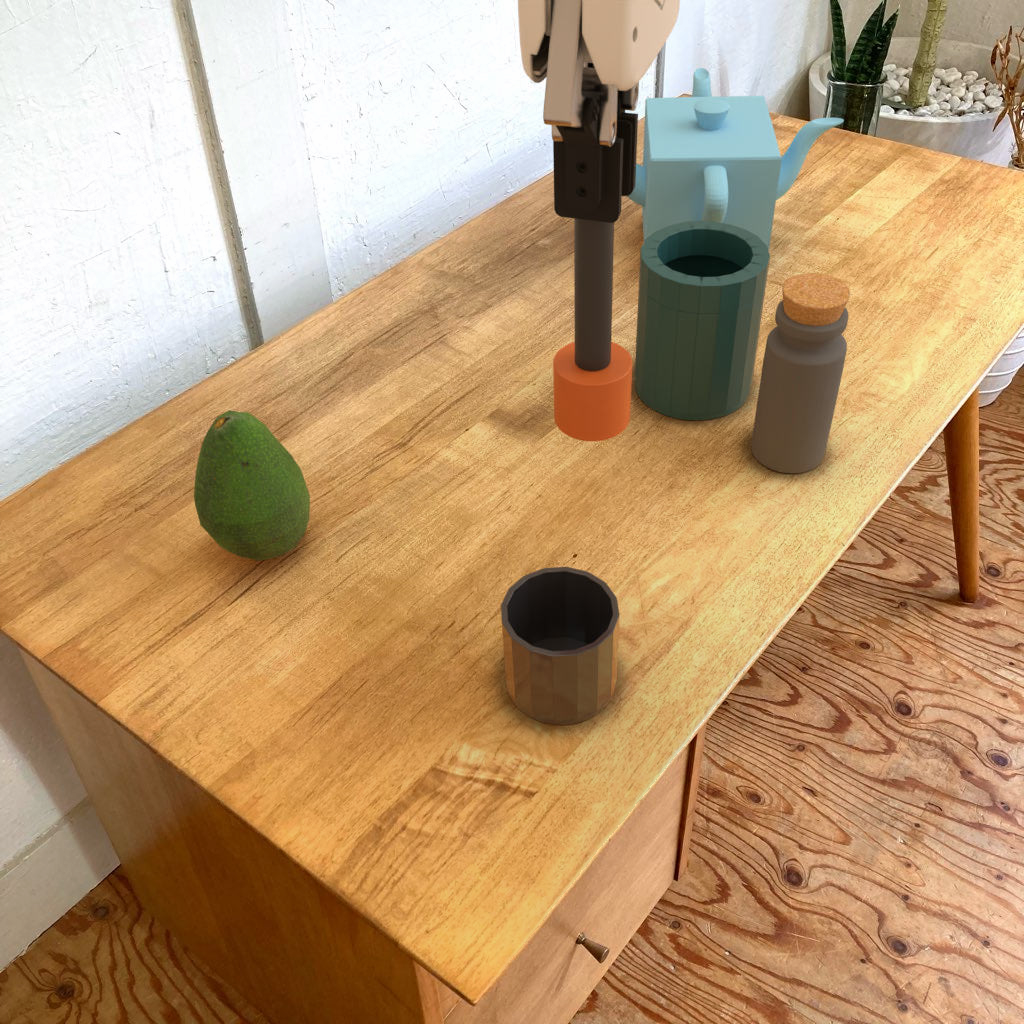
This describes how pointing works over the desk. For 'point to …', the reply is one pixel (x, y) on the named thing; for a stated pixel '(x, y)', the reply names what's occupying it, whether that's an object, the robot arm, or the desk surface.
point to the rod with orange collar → (592, 343)
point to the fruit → (249, 489)
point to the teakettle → (716, 160)
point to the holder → (560, 644)
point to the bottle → (801, 374)
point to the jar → (699, 318)
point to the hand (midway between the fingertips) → (595, 201)
